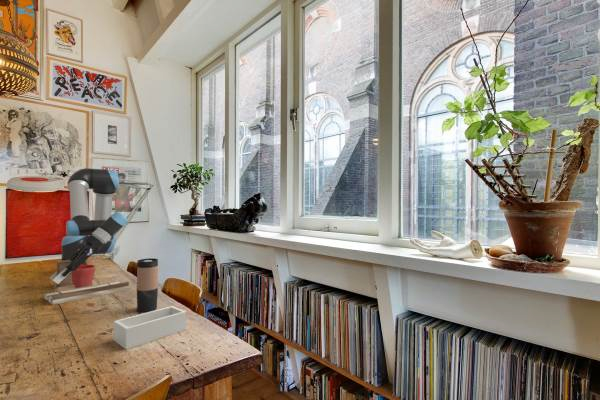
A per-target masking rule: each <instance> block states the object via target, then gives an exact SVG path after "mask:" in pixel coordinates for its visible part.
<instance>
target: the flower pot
mask: <svg viewBox="0 0 600 400" xmlns="http://www.w3.org/2000/svg"><path fill="white" fill-rule="evenodd" d="M95 270H96V265H94V264H87V265H80V266H79V267H78V268H77V269H76V270H75V271H74V270H73V271H72V284H74V285H75V288H81V287H87V286H92V284H93V279H94V276H95Z"/></svg>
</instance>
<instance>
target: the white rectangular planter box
mask: <svg viewBox="0 0 600 400" xmlns="http://www.w3.org/2000/svg"><path fill="white" fill-rule="evenodd" d="M187 318H188V317H187V311H186V310H183V309H182V308H181V309H180V308H178V307H176V306H174V305H171V306H167V307H163V308H159V309H156V310H154V311H151V312H146V313H140V314H136V315H133V316H129V317H125V318H121V319H117V320H114V321H113V341H114V342H115V343H116V344H118V345H120V347H122V348H123V349H124V350H129V349H132V348H135V347H139V346H140V345H144V344H146V343H150V342H152V341H156V340H158V339H161V338H164V337H168V336H170V335H174V334H176V333H180V332H182V331H185V330H187Z"/></svg>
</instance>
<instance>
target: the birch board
mask: <svg viewBox="0 0 600 400" xmlns="http://www.w3.org/2000/svg"><path fill="white" fill-rule="evenodd" d="M129 283H130V282H129V281H125V282H120V281H117V280H115V281H110V282H105V283H104V282H103V283H99V284H94V285H92V284H91V285H90V286H87V287H79V288H77V287H75V289H69V290H63V291H53V292H47V293H44V294H43V296H44V297H43V298H44V300H46V301H47V302H48V303H50V304H51V305H52V306H55V305H59V304H65V303H71V302H75V301H79V300H86V299H90V298H95V297H101V296H105V295H111V294H115V293H120V292H126V291H129V290H130V288H129V287H130V284H129Z"/></svg>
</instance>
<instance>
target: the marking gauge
mask: <svg viewBox="0 0 600 400" xmlns="http://www.w3.org/2000/svg"><path fill="white" fill-rule="evenodd" d="M71 263H72V261H70V260H65V261H62V260H58V261H56V271H57V275H58V274H59V273H61V272H62V271H63V270H64V269H65V268H66V266H69V265H70V264H71ZM67 269H68V268H67ZM75 288H76V287H75V285H74V284H73V283H72V271H71V272H70V273H69V274H68V275H67V276H66V277H65V278H64V279H63V280H62V281H61V282H60V283H59V284H57V283H56V284H55V285H53V290H54V291H55V292H58V291H63V290H69V289H75Z"/></svg>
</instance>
